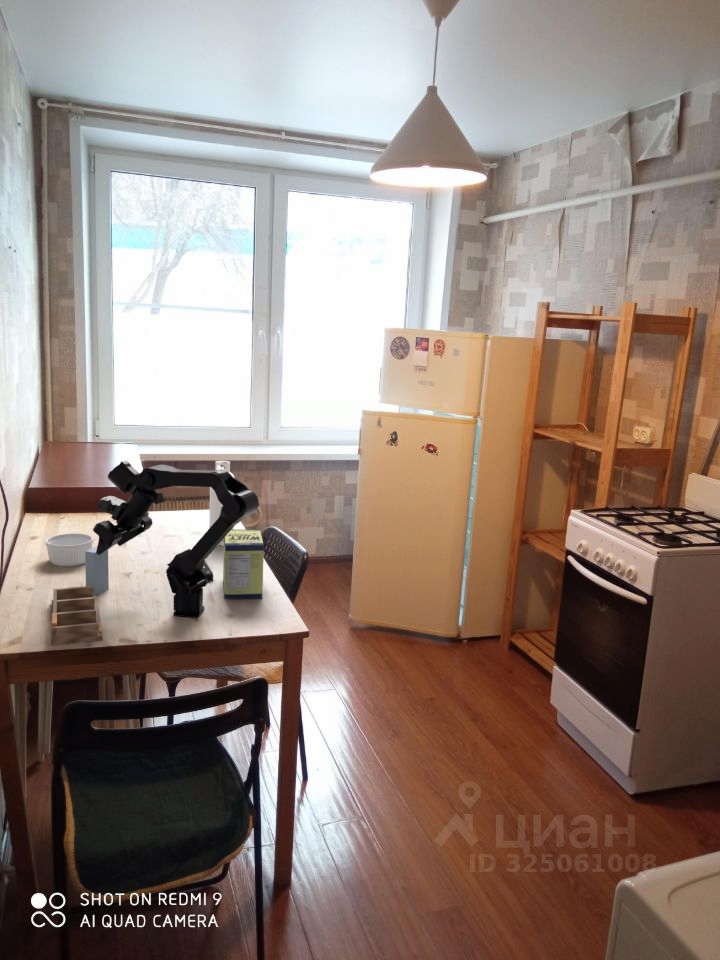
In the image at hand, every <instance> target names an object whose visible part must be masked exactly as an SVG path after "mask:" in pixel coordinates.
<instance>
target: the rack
mask: <svg viewBox="0 0 720 960" xmlns="http://www.w3.org/2000/svg"><path fill="white" fill-rule="evenodd" d="M52 590H53V594H52V599H51V609H50V611H51V612H50V613H51V615H50V646H56V645H65V644H75V643H83V642H84V643H85V642H94V641H103V629H102V623H101V615H100V609H99V607H100V606H99V599H98V595H96V596H94V595H93V586H86V585H85V586H75V587H73V586H72V587H61V588H53V589H52Z"/></svg>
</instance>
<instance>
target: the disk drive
mask: <svg viewBox="0 0 720 960" xmlns="http://www.w3.org/2000/svg"><path fill="white" fill-rule="evenodd" d="M171 562H172V560H171V561H170V562H169V563H171ZM202 572H203V573H204V574H205V576H206V577H207V578H208V582H212V581H214V573H213V571H212V569H211V568H210V566H209V565H208V563H207V561H206V560H205V561H204V565H203V568H202ZM189 582H190V581H189ZM187 583H188V582H187Z"/></svg>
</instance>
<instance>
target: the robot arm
mask: <svg viewBox="0 0 720 960" xmlns="http://www.w3.org/2000/svg"><path fill="white" fill-rule="evenodd" d="M230 473H231V472H230ZM230 473H229V472H227V471H226V470H215V469H213V470H210V469H179V468H176V467H175V466H171V465H167V464H162V463H161V464H157V465H153V466H150V467H145V468H142V471H141V472H138V470H136V469H135V468H134V466H132V465H131V463H130V462H129V461H128V460H124V461H123V460H121V461H120V463H119V464H117V465H116V466H115V467H113V469H111V470H110V471H109V473H108V474H107V479H108V480H109V481H110V482H111V483H112V484H113V485H114V486H115V487H116V488H117V489H118V490H119V491H120V492H121V493H123V494H127V493H128V494H131V495H130V496H129V497H128V499H127V500H126V501H125V500H124V499H122V498H118V497H117V496H113V495H108V496H104V497H102V498H101V499H99V501H98V502H97V503H96V505H97V509H98V510H99V512H103V513H106V514H109V515H111V517H110V518H111V519H112V520H114V521H115V523H116V524H114V523H112V521H110V519H109V520H102V521H101V522H98V523H95V525H94V526H93V528H92V532H93V533H94V534H96V535H97V536H98V543H97V546H96V547H97V551H96V553H97V554H98V555H101V554H102V553H104V552H105V551H107V550H108V551H109V550H110V549H112V548H113V547H114V546H115V545H118V546H119V547H121V546H123V545H124V544H126V543H127V542H130V541H131V540H133V539H135V538H136V537H138V536H139V535H142V534H143V533H145V532H146V531H147V530H149V529H150V528H151V527H152V526H153V524H154V523H153V519H152V518H151V517H150V516H149V515H150V512H149V510H150V509H151V508H152V507H153V504H155V505H159V504H163V503H165V498H164V496H163V492H159V491H157V490H161V489H166V488H169V487H197V488H198V487H199V488H210V487H211V488H212V489H213V490H214V491H215V493H216V496H217V498H218V500H219V502H220V503H221V504H222V505H223V506H222V508H221V512H220V516H219V518H218V519H217V520H216V521H215V522H214V524H213V525H212V526H211V527H210V528H209V527H208V529H207V530H206V532H205V533H204V534H203V536H202V537H201V538H199V540H198V541H197V542H196V544H194V545H193V547H192V548H188V549H186V550H184V551H181V552H180V553H179V552H178V553H176V554H175V555H174V557H173V559H172V560H171V561H172V562H171V561H170V562H171V563H170V562H169V563H167V564H166V565H167V566H168V567H167V569H166V570H165V574H166V578H167V580H168V583H169V586H170V591H171V593H172V594H174V595H173V611H174V612H173V614H172V615H173V616H175V617H184V618H185V617H187V618H199V617H200V615H201V614H202V613H203V611H204V610H205V609H206V608H205V606H204V605H203V604H204V601H203V600H204V587H207V585H208V582H209V581H208V578H207V577H206V576H205V574H204V573H203V572H202V568H203V565H204V561H206V559H207V558H208V557H209V556H210V555H211V554H212V552H213V551H215V549H216V548H217V547H218V546H217V545H218V544H219V543H220V542H221V541H224V540H223V539H224V537H225V536H226V535H227V534H228V533H229V532H230V531H231V529H232V528H233V527H234V528H235V527H236V525H237V524H239V523H240V522H242V521H244V520H245V519H247V518H248V517H249V516H250V515H253V513H255V512H256V511H257V510H258V508H259V506H260V502H259V497H258V495H257V494H256V493H255V491H252V490H250V489H249V488H248V486H246V485H245V484H244V483H243V482H242V481H239V480H238V479H237V478H233V477H232V476H231V474H230ZM228 490H229V491H230V492H232V493H234V495H232V494H231V493H230V492H229V491H228ZM189 581H190V582H189ZM187 582H188V583H187Z"/></svg>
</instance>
